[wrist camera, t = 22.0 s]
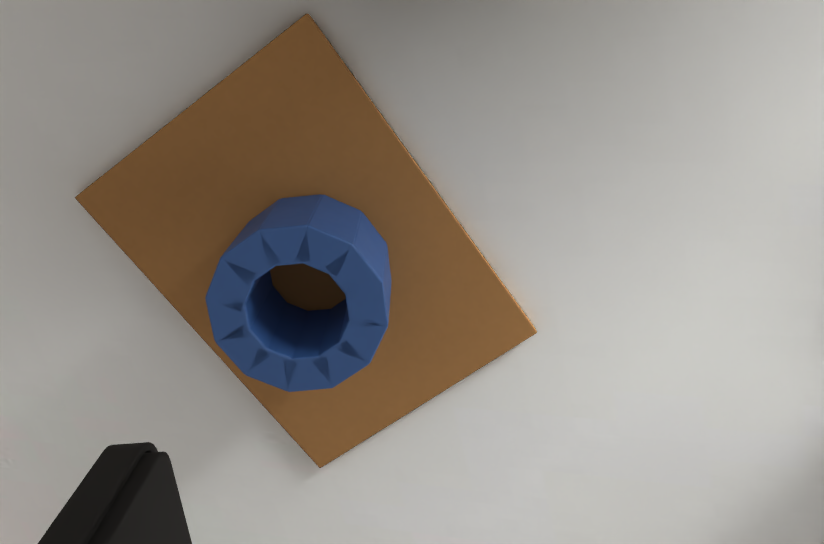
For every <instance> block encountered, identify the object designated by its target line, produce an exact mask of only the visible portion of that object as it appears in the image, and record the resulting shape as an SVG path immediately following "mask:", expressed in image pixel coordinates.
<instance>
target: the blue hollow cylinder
mask: <svg viewBox="0 0 824 544" xmlns="http://www.w3.org/2000/svg"><path fill="white" fill-rule="evenodd" d="M302 263H303V264H306V265H308V266H310V267H313V268H315V269H318V270H320V271H322V272H325V273H327V274H329V275H330V276H331V277H332V279H333V280H334V281H335V282H336V284H337V285H338V286H339V287H340V289H341V290H342V291H343V292H344V293H345V296H346V299H345V300H343V301H342V302H340V303H339V304H337V305H336V306H334V307H333V308H331V309H323V310H312V311H307V310H304V309H302V308H300V307H297V306H295V305H292V304H290V303H287V302H286V301H285V299H284V298H283V297H282V296H281V295H280V293H279V292H278V291H277V290H276V289H275V288H274V286H273V284H272V279H271V273H270V270H271V269H273V268H274V267H275V266H281V265H292V264H302ZM391 282H392V281H391V272H390V264H389V255H388V247H387V244H386V242H385V241H384V239H383V238H382V237H381V235H380V234H379V233H378V231H377V230H376V229H375V227H374V226H373V225H372V224H371V222H370V221H369V220H368V218H367V217H366V216H365V214H364V213H363V212H362V211H361V210H358V209H356V208H354V207H351V206H349V205H347V204H344V203H342V202H340V201H338V200H335V199H333V198H331V197H328V196H326V195H321V194H319V195H309V196H299V197H289V198H282V199H279V200H277V201H276V202H275V203H273V204H272V205H271V206H269V207H268V208H267V209H265V210H264V211H262V212H261V213H260V214H258V215H257V216H256V217H254V218H253V219H252V220H250V221H249V222H248V223H247V224H246V226H245V227H244V228H243V229H242V231H241V232H240V233H239V235H238V236H237V237H236V238H235V240H234V241H233V242H232V243H231V245H230V246H229V247H228V248H227V250H226V251H225V252H224V254H223V255H222V256H221V257H220V259H219V262H218V265H217V267H216V270H215V273H214V275H213V278H212V281H211V283H210V286H209V289H208V291H207V294H206V297H205V299H206V304H207V309H208V314H209V318H210V323H211V327H212V332H213V337H214V340H215V342H216V344H217V345H218V346H219V347H220V348H221V349H222V350H223V351H224V352H225V354H226V355H227V356H228V357H229V358H230V359H231V360H232V361H233V362H234V364H235V365H236V366H237V367H238V368H239V369H240V370H241V371H242V372H243V374H245V375H246V376H248V377H251V378H254V379H256V380H259V381H261V382H264V383H267V384H269V385H272V386H274V387H277V388H279V389H282V390H285V391H288V392H295V391H307V390H318V389H329V388H333V387H335V386H337V385H338V384H340V383H341V382H343V381H344V380H346V379H348V378H349V377H351V376H352V375H354V374H355V373H357V372H358V371H360V370H361V369H363V368H364V367H366V366H367V365H369V364H370V363H371V361H372V359H373V357H374V355H375V352H376V350H377V348H378V346H379V344H380V342H381V340H382V338H383V336H384V334H385V332H386V330H387V328H388V323H389V309H390V296H391Z"/></svg>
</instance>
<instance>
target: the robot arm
mask: <svg viewBox="0 0 824 544" xmlns="http://www.w3.org/2000/svg"><path fill="white" fill-rule="evenodd" d="M38 544H192V542H191V538H190V534H189V531H188V527H187V523H186V519H185V515H184V511H183V507H182V503H181V499H180V496H179V492H178V488H177V484H176V480H175V476H174V472H173V468H172V464H171V461H170V458H169V456H168V454H167V453H166V452H158V451H157V448H156V447H155V446H154V444H152V443H150V442H146V443H132V444H118V445H110V446H108V447H107V448H106V449H105V450H104V451H103V452H102V454H101V455H100V457H99V458H98V459H97V461H96V462H95V464H94V465H93V466H92V468H91V469H90V471H89V472H88V473H87V475H86V476H85V478H84V479H83V481H82V482H81V483H80V485H79V486H78V488H77V489H76V490H75V492H74V493H73V495H72V496H71V497H70V499H69V500H68V502H67V503H66V505H65V506H64V507H63V509H62V510H61V512H60V513H59V514H58V516H57V517H56V519H55V520H54V521H53V523H52V524H51V526H50V527H49V529H48V530H47V531H46V533H45V534H44V536H43V537H42V538H41V540H40V541H39V543H38Z"/></svg>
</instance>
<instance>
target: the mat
mask: <svg viewBox="0 0 824 544" xmlns="http://www.w3.org/2000/svg"><path fill="white" fill-rule="evenodd" d="M319 194H321V195H326V196H328V197H331V198H333V199H335V200H338V201H340V202H342V203H344V204H347V205H349V206H351V207H354V208H356V209H358V210H361V211H362V212H363V213H364V214H365V216H366V217H367V218H368V220H369V221H370V222H371V224H372V225H373V226H374V227H375V229H376V230H377V231H378V233H379V234H380V235H381V237H382V238H383V239H384V241H385V242H386V244H387V247H388V255H389V264H390V272H391V281H392V282H391V296H390V309H389V323H388V328H387V330H386V332H385V334H384V336H383V338H382V340H381V342H380V344H379V346H378V348H377V350H376V352H375V355H374V357H373V359H372V361H371V363H370V364H369V365H367V366H366V367H364V368H363V369H361V370H360V371H358V372H357V373H355V374H354V375H352V376H351V377H349V378H348V379H346V380H344V381H343V382H341V383H340V384H338V385H337V386H335V387H333V388H329V389H318V390H307V391H295V392H288V391H285V390H282V389H279V388H277V387H274V386H272V385H269V384H267V383H264V382H261V381H259V380H256V379H254V378H251V377H248V376H246V375H245V374H243V372H242V371H241V370H240V369H239V368H238V367H237V366H236V365H235V364H234V362H233V361H232V360H231V359H230V358H229V357H228V356H227V355H226V354H225V352H224V351H223V350H222V349H221V348H220V347H219V346H218V345H217V344H216V342H215V340H214V337H213V332H212V327H211V323H210V318H209V314H208V309H207V304H206V299H205V297H206V294H207V291H208V289H209V286H210V283H211V281H212V278H213V275H214V273H215V270H216V267H217V265H218V262H219V259H220V257H221V256H222V255H223V254H224V252H225V251H226V250H227V248H228V247H229V246H230V245H231V243H232V242H233V241H234V240H235V238H236V237H237V236H238V235H239V233H240V232H241V231H242V229H243V228H244V227H245V226H246V224H247V223H248V222H249V221H250V220H252V219H253V218H254V217H256V216H257V215H258V214H260V213H261V212H262V211H264V210H265V209H267V208H268V207H269V206H271V205H272V204H273V203H275V202H276V201H277V200H279V199H282V198H289V197H299V196H309V195H319ZM75 198H76V199H77V201H78V202H79V203H80V204H81V205H82V206H83V207H84V208H85V209H86V210H87V212H88V213H89V214H90V215H91V216H92V217H93V218H94V219H95V220H96V222H97V223H98V224H99V225H100V226H101V227H102V228H103V229H104V230H105V231H106V233H107V234H108V235H109V236H110V237H111V238H112V239H113V240H114V241H115V242H116V244H117V245H118V246H119V247H120V248H121V249H122V250H123V251H124V252H125V254H126V255H127V256H128V257H129V258H130V259H131V260H132V261H133V262H134V263H135V265H136V266H137V267H138V268H139V269H140V270H141V271H142V272H143V273H144V274H145V276H146V277H147V278H148V279H149V280H150V281H151V282H152V283H153V284H154V286H155V287H156V288H157V289H158V290H159V291H160V292H161V293H162V294H163V295H164V297H165V298H166V299H167V300H168V301H169V302H170V303H171V304H172V305H173V307H174V308H175V309H176V310H177V311H178V312H179V313H180V314H181V315H182V316H183V318H184V319H185V320H186V321H187V322H188V323H189V324H190V325H191V326H192V327H193V329H194V330H195V331H196V332H197V333H198V334H199V335H200V336H201V337H202V339H203V340H204V341H205V342H206V343H207V344H208V345H209V346H210V347H211V348H212V350H213V351H214V352H215V353H216V354H217V355H218V356H219V357H220V358H221V359H222V361H223V362H224V363H225V364H226V365H227V366H228V367H229V368H230V369H231V371H232V372H233V373H234V374H235V375H236V376H237V377H238V378H239V379H240V380H241V382H242V383H243V384H244V385H245V386H246V387H247V388H248V389H249V390H250V391H251V393H252V394H253V395H254V396H255V397H256V398H257V399H258V400H259V401H260V403H261V404H262V405H263V406H264V407H265V408H266V409H267V410H268V411H269V412H270V414H271V415H272V416H273V417H274V418H275V419H276V420H277V421H278V422H279V423H280V425H281V426H282V427H283V428H284V429H285V430H286V431H287V432H288V433H289V435H290V436H291V437H292V438H293V439H294V440H295V441H296V442H297V443H298V444H299V446H300V447H301V448H302V449H303V450H304V451H305V452H306V453H307V454H308V456H309V457H310V458H311V459H312V460H313V461H314V462H315V463H316V464H317V465H318V467H319V468H321V467H323V466H324V465H326V464H328V463H329V462H331V461H332V460H334V459H336V458H337V457H339V456H340V455H342V454H344V453H345V452H347V451H348V450H350V449H352V448H353V447H355V446H356V445H358V444H360V443H361V442H363V441H364V440H366V439H368V438H369V437H371V436H372V435H374V434H376V433H377V432H379V431H380V430H382V429H384V428H385V427H387V426H388V425H390V424H392V423H393V422H395V421H396V420H398V419H400V418H401V417H403V416H404V415H406V414H408V413H409V412H411V411H412V410H414V409H416V408H417V407H419V406H420V405H422V404H424V403H425V402H427V401H428V400H430V399H432V398H433V397H435V396H436V395H438V394H440V393H441V392H443V391H444V390H446V389H448V388H449V387H451V386H452V385H454V384H456V383H457V382H459V381H460V380H462V379H464V378H465V377H467V376H468V375H470V374H472V373H473V372H475V371H476V370H478V369H480V368H481V367H483V366H484V365H486V364H488V363H489V362H491V361H492V360H494V359H496V358H497V357H499V356H500V355H502V354H504V353H505V352H507V351H508V350H510V349H512V348H513V347H515V346H516V345H518V344H520V343H521V342H523V341H524V340H526V339H528V338H529V337H531V336H532V335H534V334H536V333H537V331H536V329H535V327H534V326H533V324H532V323H531V322H530V320H529V319H528V317H527V316H526V315H525V313H524V312H523V311H522V309H521V308H520V306H519V305H518V304H517V302H516V301H515V299H514V298H513V297H512V295H511V294H510V292H509V291H508V290H507V288H506V287H505V286H504V284H503V283H502V281H501V280H500V279H499V277H498V276H497V274H496V273H495V272H494V270H493V269H492V267H491V266H490V265H489V263H488V262H487V261H486V259H485V258H484V256H483V255H482V254H481V252H480V251H479V249H478V248H477V247H476V245H475V244H474V242H473V241H472V240H471V238H470V237H469V236H468V234H467V233H466V231H465V230H464V229H463V227H462V226H461V224H460V223H459V222H458V220H457V219H456V217H455V216H454V215H453V213H452V212H451V211H450V209H449V208H448V206H447V205H446V204H445V202H444V201H443V199H442V198H441V197H440V195H439V194H438V192H437V191H436V190H435V188H434V187H433V186H432V184H431V183H430V181H429V180H428V179H427V177H426V176H425V174H424V173H423V172H422V170H421V169H420V167H419V166H418V165H417V163H416V162H415V161H414V159H413V158H412V156H411V155H410V154H409V152H408V151H407V149H406V148H405V147H404V145H403V144H402V142H401V141H400V140H399V138H398V137H397V136H396V134H395V133H394V131H393V130H392V129H391V127H390V126H389V124H388V123H387V122H386V120H385V119H384V117H383V116H382V115H381V113H380V112H379V111H378V109H377V108H376V106H375V105H374V104H373V102H372V101H371V99H370V98H369V97H368V95H367V94H366V92H365V91H364V90H363V88H362V87H361V86H360V84H359V83H358V81H357V80H356V79H355V77H354V76H353V74H352V73H351V72H350V70H349V69H348V67H347V66H346V65H345V63H344V62H343V61H342V59H341V58H340V56H339V55H338V54H337V52H336V51H335V49H334V48H333V47H332V45H331V44H330V42H329V41H328V40H327V38H326V37H325V36H324V34H323V33H322V31H321V30H320V29H319V27H318V26H317V24H316V23H315V22H314V20H313V19H312V17H311V16H310V15H309V14H305V15H304V16H303V17H302V18H300V19H299V20H298V21H297V22H295V23H294V24H293V25H291V26H290V27H289V28H288V29H286V30H285V31H284V32H283V33H281V34H280V35H279V36H278V37H276V38H275V39H274V40H273V41H271V42H270V43H269V44H268V45H266V46H265V47H264V48H263V49H261V50H260V51H259V52H257V53H256V54H255V55H254V56H252V57H251V58H250V59H249V60H247V61H246V62H245V63H244V64H242V65H241V66H240V67H239V68H237V69H236V70H235V71H234V72H232V73H231V74H230V75H229V76H227V77H226V78H225V79H223V80H222V81H221V82H220V83H218V84H217V85H216V86H215V87H213V88H212V89H211V90H210V91H208V92H207V93H206V94H205V95H203V96H202V97H201V98H200V99H198V100H197V101H196V102H194V103H193V104H192V105H191V106H189V107H188V108H187V109H186V110H184V111H183V112H182V113H181V114H179V115H178V116H177V117H176V118H174V119H173V120H172V121H171V122H169V123H168V124H167V125H166V126H164V127H163V128H162V129H160V130H159V131H158V132H157V133H155V134H154V135H153V136H152V137H150V138H149V139H148V140H147V141H145V142H144V143H143V144H142V145H140V146H139V147H138V148H137V149H135V150H134V151H133V152H132V153H130V154H129V155H128V156H126V157H125V158H124V159H123V160H121V161H120V162H119V163H118V164H116V165H115V166H114V167H113V168H111V169H110V170H109V171H108V172H106V173H105V174H104V175H103V176H101V177H100V178H99V179H98V180H96V181H95V182H94V183H92V184H91V185H90V186H89V187H87V188H86V189H85V190H84V191H82V192H81V193H80V194H79V195H77V196H76V197H75ZM270 273H271V279H272V284H273V286H274V288H275V289H276V290H277V291H278V292H279V293H280V295H281V296H282V297H283V298H284V299H285V301H286V302H287V303H290V304H292V305H295V306H297V307H300V308H302V309H304V310H307V311H312V310H323V309H331V308H333V307H334V306H336V305H337V304H339V303H340V302H342V301H343V300H345V299H346V296H345V293H344V292H343V291H342V290H341V289H340V287H339V286H338V285H337V284H336V282H335V281H334V280H333V279H332V277H331V276H330V275H329V274H327V273H325V272H322V271H320V270H318V269H315V268H313V267H310V266H308V265H306V264H303V263H302V264H292V265H281V266H275V267H274V268H273V269H271V270H270Z"/></svg>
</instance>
